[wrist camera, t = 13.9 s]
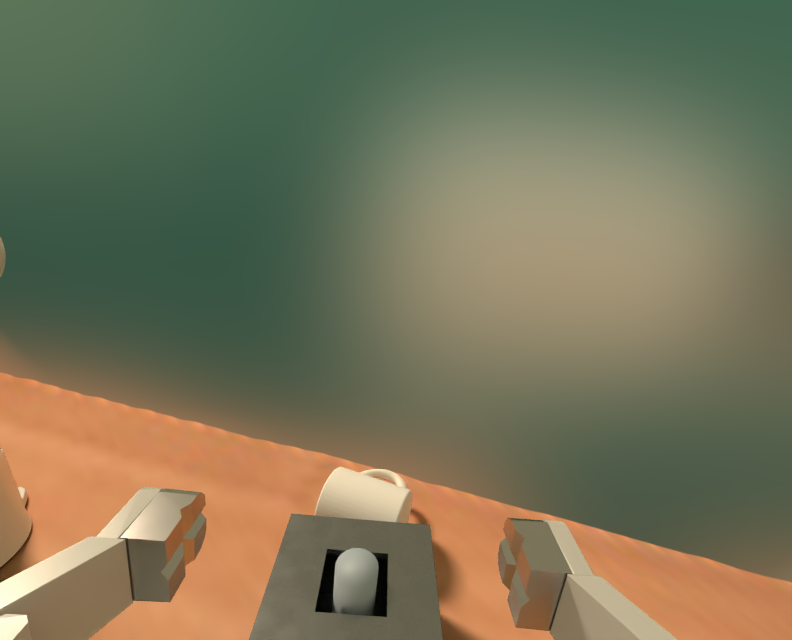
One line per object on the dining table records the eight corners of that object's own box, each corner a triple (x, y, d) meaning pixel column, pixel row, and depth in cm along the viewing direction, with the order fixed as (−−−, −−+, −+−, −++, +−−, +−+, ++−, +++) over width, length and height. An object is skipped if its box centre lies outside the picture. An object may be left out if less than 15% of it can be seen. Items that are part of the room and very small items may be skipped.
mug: (387, 578, 43) (395, 522, 41) (311, 546, 46) (314, 492, 44) (417, 506, 54) (424, 459, 52) (354, 484, 57) (358, 439, 55)
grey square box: (242, 757, 28) (240, 663, 25) (288, 588, 41) (291, 513, 38) (428, 768, 29) (447, 677, 26) (417, 598, 41) (429, 525, 38)
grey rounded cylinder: (327, 685, 32) (334, 588, 29) (329, 639, 36) (336, 548, 33) (368, 683, 33) (380, 586, 30) (367, 638, 36) (377, 547, 33)
